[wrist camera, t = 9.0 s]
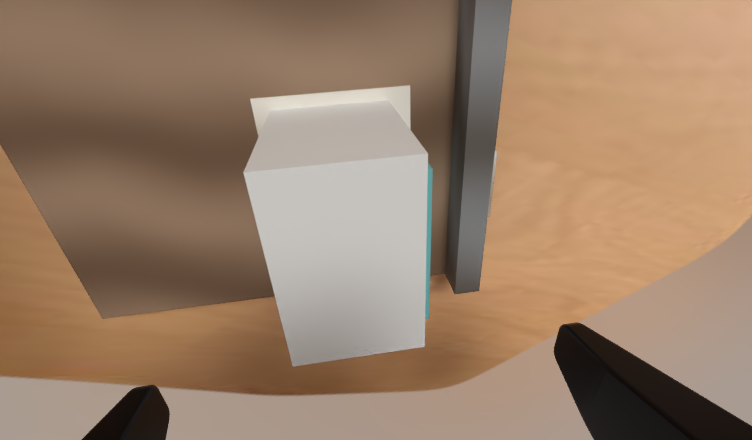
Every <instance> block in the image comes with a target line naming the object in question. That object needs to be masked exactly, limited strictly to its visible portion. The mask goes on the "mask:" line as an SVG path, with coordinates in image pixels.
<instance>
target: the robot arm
mask: <svg viewBox="0 0 752 440" xmlns="http://www.w3.org/2000/svg"><path fill="white" fill-rule="evenodd" d="M554 355H555V358H556V361H557V363H558V365H559V368H560V370H561V372H562V374H563V376H564V379H565V381H566V383H567V385H568V387H569V389H570V392H571V394H572V396H573V398H574V400H575V403H576V405H577V407H578V410H579V412H580V414H581V416H582V418H583V420H584V422H585V424H586V426H587V428H588V430H589V431H590V433H591V435H592V437H593V438H594V440H752V426H751V425H749V424H748V423H746V422H744V421H742V420H741V419H739V418H737V417H736V416H734V415H733V414H731V413H729V412H727V411H726V410H724V409H723V408H721V407H719V406H717V405H716V404H714V403H713V402H711V401H709V400H708V399H706V398H704V397H703V396H701V395H699V394H698V393H696V392H694V391H693V390H691V389H689V388H688V387H686V386H684V385H683V384H681V383H679V382H678V381H676V380H674V379H673V378H671V377H669V376H668V375H666V374H664V373H663V372H661V371H660V370H658V369H656V368H655V367H653V366H651V365H650V364H648V363H646V362H645V361H643V360H641V359H640V358H638V357H636V356H634V355H633V354H631V353H630V352H628V351H626V350H625V349H623V348H621V347H620V346H618V345H616V344H615V343H613V342H611V341H609V340H608V339H606V338H605V337H603V336H601V335H600V334H598V333H596V332H595V331H593V330H591V329H590V328H588V327H586V326H585V325H583V324H581V323H569V324H563V325H562V326H561V327H560V328H559V332H558V335H557V339H556V343H555V347H554ZM169 415H170V414H169V408H168V406H167V404H166V402H165V401H164V399H163V397H162V395H161V393H160V391H159V389H158V388H157V387H156V386H154V385H148V386H141V387H136V388H134V389H132V390H131V391H129V392H128V393H127V395H125V397H123V398H122V399H121V400H120V401H119V403H118V404H116V406H115V407H114V408H113V409H112V410H110V412H109V413H108V414H107V415H106V416H105V417H104V418H103V419H102V420H101V421H100V422H99V423H98V424H97V425H96V426H95V427H94V428H93V429H92V430H91V431H90V432H89V433H88V434H87V435H86V436H85V437H84V438H83V439H82V440H165V439H166V434H167V429H168V423H169Z"/></svg>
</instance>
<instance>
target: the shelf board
mask: <svg viewBox="0 0 752 440" xmlns="http://www.w3.org/2000/svg"><path fill="white" fill-rule="evenodd" d="M511 5H512V0H0V144H1V146H2V148H3V150H4V151H5V153H6V155H7V156H8V158H9V160H10V161H11V163H12V165H13V167H14V168H15V170H16V172H17V173H18V175H19V177H20V179H21V180H22V182H23V184H24V185H25V187H26V189H27V191H28V192H29V194H30V196H31V197H32V199H33V201H34V202H35V204H36V206H37V208H38V209H39V211H40V213H41V214H42V216H43V218H44V220H45V221H46V223H47V225H48V226H49V228H50V230H51V232H52V233H53V235H54V237H55V238H56V240H57V242H58V243H59V245H60V247H61V249H62V250H63V252H64V254H65V255H66V257H67V259H68V261H69V262H70V264H71V266H72V267H73V269H74V271H75V272H76V274H77V276H78V278H79V279H80V281H81V283H82V284H83V286H84V288H85V290H86V291H87V293H88V295H89V296H90V298H91V300H92V302H93V303H94V305H95V307H96V308H97V310H98V312H99V313H100V315H101V317H102V319H105V318H112V317H120V316H128V315H135V314H143V313H150V312H158V311H165V310H173V309H181V308H188V307H196V306H203V305H211V304H219V303H226V302H234V301H241V300H249V299H256V298H264V297H272V296H275V295H274V291H273V287H272V283H271V279H270V275H269V271H268V267H267V263H266V260H265V256H264V252H263V248H262V244H261V240H260V236H259V232H258V228H257V224H256V220H255V216H254V212H253V208H252V205H251V201H250V197H249V193H248V189H247V185H246V181H245V177H244V173H243V172H244V170H245V168H246V165H247V163H248V161H249V158H250V156H251V154H252V151H253V149H254V147H255V144H256V142H257V140H258V137H259V135H260V133H261V130H262V128H263V125H264V123H265V121H266V118H267V116H268V114H269V111H270V110H279V109H291V108H302V107H313V106H324V105H336V104H347V103H358V102H369V101H381V100H389V102H390V103H391V104H392V106H393V107H394V108H395V110H396V111H397V112H398V114H399V115H400V116H401V118H402V119H403V120H404V122H405V123H406V125H407V126H408V127H409V129H410V130H411V131H412V133H413V134H414V135H415V137H416V138H417V139H418V141H419V142H420V143H421V145H422V146H423V147H424V149H425V150H426V152H427V153H428V163H429V165H430V166H431V168H432V169H433V178H432V219H431V261H430V276H431V275H438V274H446V277H447V279H448V281H449V283H450V285H451V287H452V289H453V291H454V293H455V294H460V293H468V292H475V291H479V286H480V277H481V268H482V260H483V251H484V242H485V233H486V225H487V217H490V210H491V201H492V193H493V184H494V176H495V167H496V159H497V151H496V150H495V145H496V137H497V128H498V119H499V110H500V102H501V93H502V84H503V75H504V66H505V58H506V49H507V40H508V31H509V22H510V14H511Z"/></svg>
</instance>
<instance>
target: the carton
mask: <svg viewBox="0 0 752 440" xmlns="http://www.w3.org/2000/svg"><path fill="white" fill-rule="evenodd" d="M243 173H244V177H245V181H246V185H247V189H248V193H249V197H250V201H251V205H252V208H253V212H254V216H255V220H256V224H257V228H258V232H259V236H260V240H261V244H262V248H263V252H264V256H265V260H266V263H267V267H268V271H269V275H270V279H271V283H272V287H273V291H274V295H275V299H276V303H277V307H278V311H279V315H280V319H281V322H282V326H283V330H284V334H285V338H286V342H287V346H288V350H289V354H290V358H291V362H292V366H293V367H294V366H301V365H307V364H314V363H321V362H327V361H334V360H340V359H347V358H354V357H360V356H367V355H374V354H380V353H387V352H393V351H400V350H407V349H413V348H420V347H425V319H427V318H429V302H430V261H431V219H432V178H433V169H432V168H431V166H430V165H429V163H428V153H427V152H426V150H425V149H424V147H423V146H422V145H421V143H420V142H419V141H418V139H417V138H416V137H415V135H414V134H413V133H412V131H411V130H410V129H409V127H408V126H407V125H406V123H405V122H404V120H403V119H402V118H401V116H400V115H399V114H398V112H397V111H396V110H395V108H394V107H393V106H392V104H391V103H390V102H389V100H381V101H369V102H358V103H347V104H336V105H324V106H313V107H302V108H291V109H279V110H270V111H269V114H268V116H267V118H266V121H265V123H264V125H263V128H262V130H261V133H260V135H259V137H258V140H257V142H256V144H255V147H254V149H253V151H252V154H251V156H250V158H249V161H248V163H247V165H246V168H245V170H244V172H243Z"/></svg>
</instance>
